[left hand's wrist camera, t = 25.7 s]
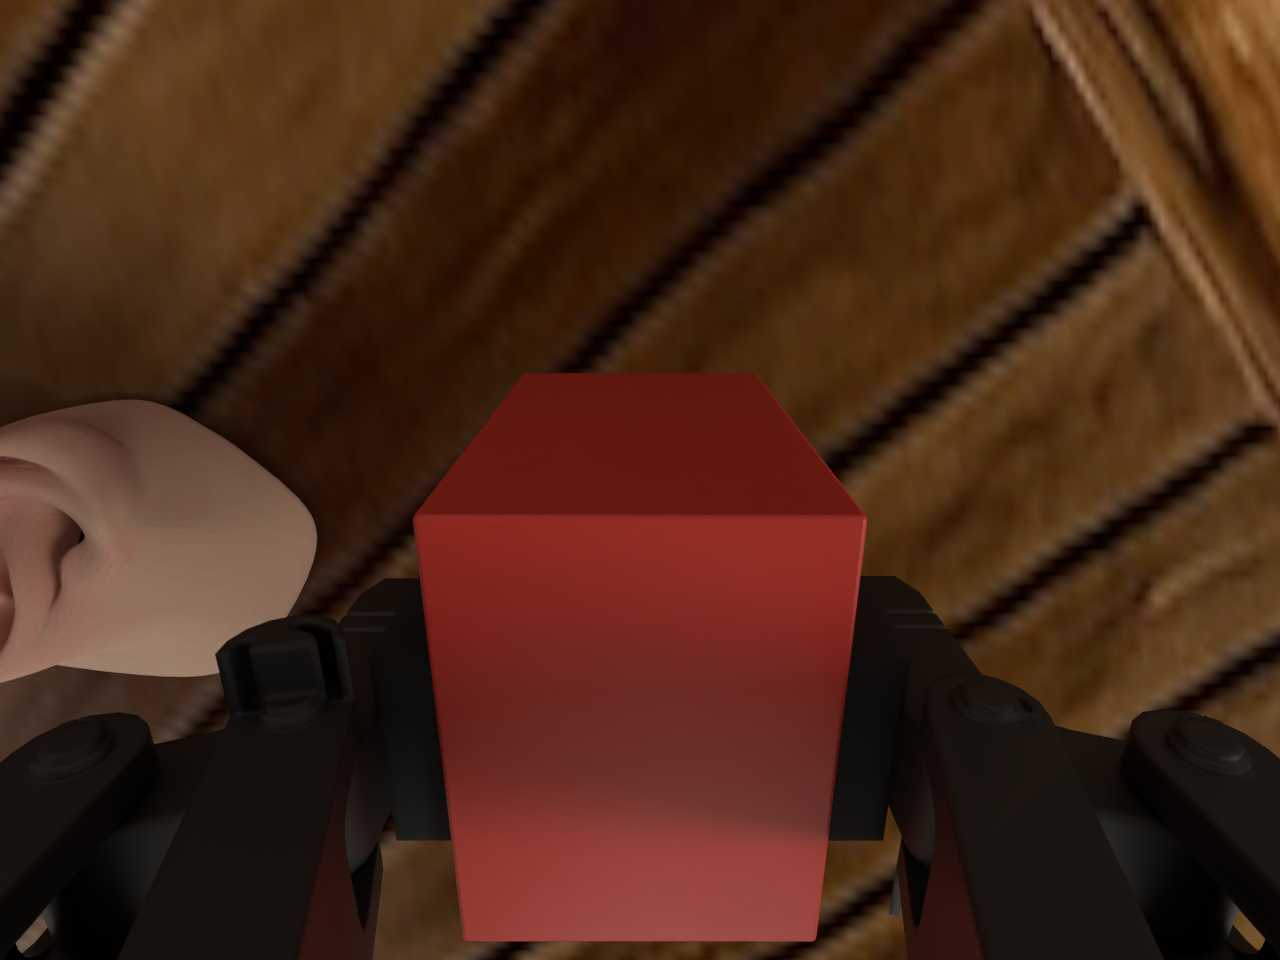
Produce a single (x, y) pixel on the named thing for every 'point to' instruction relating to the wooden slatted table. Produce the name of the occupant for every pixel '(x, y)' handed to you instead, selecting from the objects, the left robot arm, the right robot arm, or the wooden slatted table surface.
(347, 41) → the wooden slatted table surface
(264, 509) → the anatomical model
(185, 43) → the wooden slatted table surface
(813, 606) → the block
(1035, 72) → the wooden slatted table surface
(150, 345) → the wooden slatted table surface
